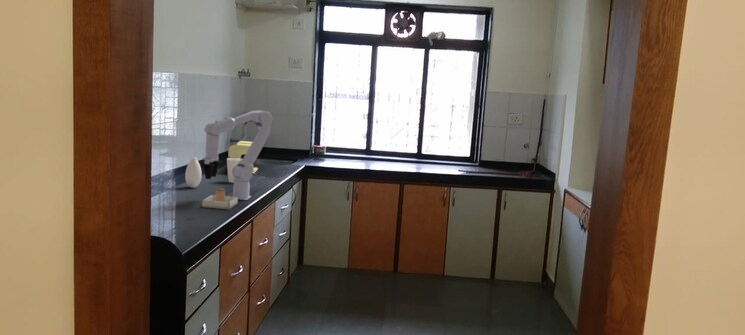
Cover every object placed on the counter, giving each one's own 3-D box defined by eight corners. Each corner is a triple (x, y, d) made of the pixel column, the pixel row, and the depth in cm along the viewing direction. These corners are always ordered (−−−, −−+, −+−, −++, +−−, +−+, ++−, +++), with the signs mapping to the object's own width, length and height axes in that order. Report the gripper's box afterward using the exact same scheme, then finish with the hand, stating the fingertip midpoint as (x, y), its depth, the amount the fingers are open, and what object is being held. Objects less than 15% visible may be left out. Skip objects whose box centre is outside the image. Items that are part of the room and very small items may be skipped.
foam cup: (222, 181, 321) (223, 158, 319) (237, 180, 327) (238, 157, 325) (231, 183, 314) (232, 160, 312) (245, 183, 320) (247, 160, 319)
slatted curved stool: (235, 167, 380) (236, 140, 378) (259, 168, 382) (260, 142, 380) (227, 173, 351) (228, 144, 348) (253, 175, 352) (255, 146, 350)
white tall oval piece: (195, 189, 288) (197, 154, 286) (181, 187, 290) (183, 152, 288) (203, 187, 296) (205, 153, 294) (189, 185, 297) (191, 151, 295)
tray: (211, 201, 263) (212, 194, 262) (237, 203, 263) (238, 197, 262) (202, 207, 249) (202, 200, 249) (229, 209, 249) (229, 202, 248)
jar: (217, 202, 258) (218, 187, 257) (225, 203, 257) (226, 188, 257) (213, 203, 254) (214, 189, 253) (222, 204, 254) (223, 190, 253)
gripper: (208, 146, 270) (206, 174, 272) (198, 149, 256) (196, 179, 257) (223, 147, 270) (221, 176, 272) (214, 150, 256) (212, 180, 257)
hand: (210, 177), depth 265 cm, fingers open, 7 cm apart
